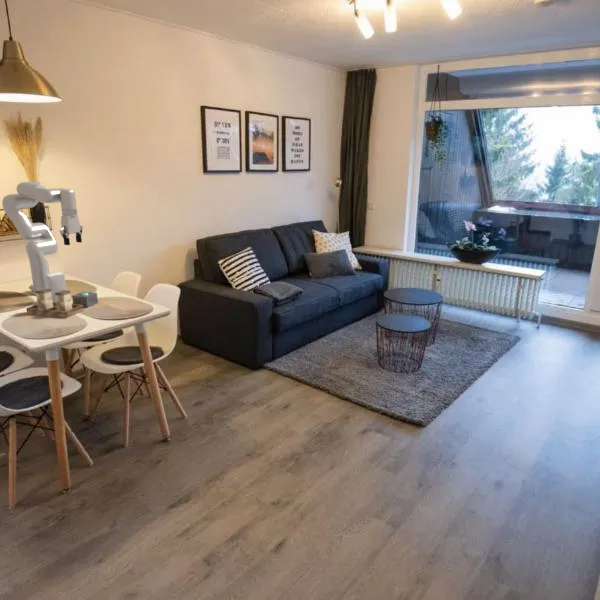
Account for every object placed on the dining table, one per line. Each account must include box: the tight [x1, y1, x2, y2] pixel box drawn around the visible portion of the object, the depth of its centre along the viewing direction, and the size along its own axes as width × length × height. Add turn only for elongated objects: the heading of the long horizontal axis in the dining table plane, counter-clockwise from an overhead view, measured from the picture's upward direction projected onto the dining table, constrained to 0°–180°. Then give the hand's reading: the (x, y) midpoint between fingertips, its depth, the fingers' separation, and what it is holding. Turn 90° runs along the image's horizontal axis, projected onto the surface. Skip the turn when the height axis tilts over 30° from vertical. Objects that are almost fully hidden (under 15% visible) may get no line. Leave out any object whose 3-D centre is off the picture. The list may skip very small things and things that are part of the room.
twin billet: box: [35, 288, 53, 310], centre depth 253 cm, size 5×5×10 cm
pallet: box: [26, 302, 85, 319], centre depth 253 cm, size 24×13×3 cm, turn 76°
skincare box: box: [46, 271, 68, 302], centre depth 272 cm, size 8×7×16 cm
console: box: [71, 291, 99, 309], centre depth 266 cm, size 9×9×6 cm
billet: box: [55, 289, 73, 311], centre depth 250 cm, size 5×5×10 cm
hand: (73, 243), depth 268 cm, fingers open, 9 cm apart
